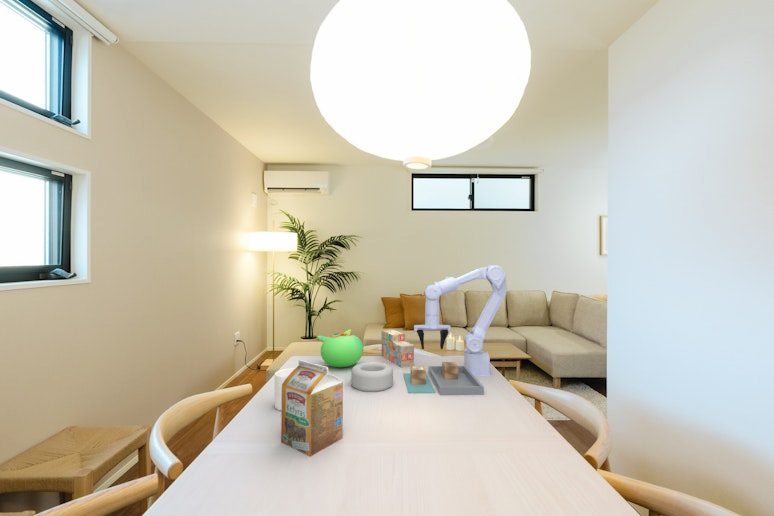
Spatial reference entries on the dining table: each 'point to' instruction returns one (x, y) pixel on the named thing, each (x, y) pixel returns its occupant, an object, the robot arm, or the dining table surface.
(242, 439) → the dining table surface
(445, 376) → the plain box
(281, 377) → the mug
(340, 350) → the toy bird
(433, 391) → the teal board
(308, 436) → the milk carton
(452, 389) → the tray
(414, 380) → the labelled box
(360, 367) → the fat ring
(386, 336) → the stack of blocks
